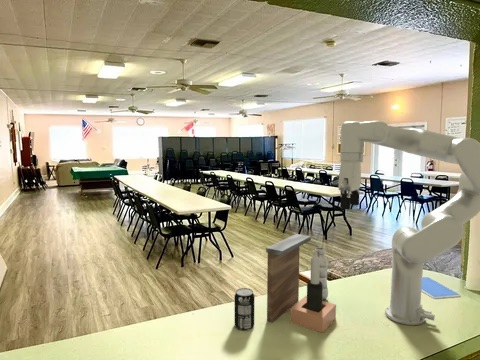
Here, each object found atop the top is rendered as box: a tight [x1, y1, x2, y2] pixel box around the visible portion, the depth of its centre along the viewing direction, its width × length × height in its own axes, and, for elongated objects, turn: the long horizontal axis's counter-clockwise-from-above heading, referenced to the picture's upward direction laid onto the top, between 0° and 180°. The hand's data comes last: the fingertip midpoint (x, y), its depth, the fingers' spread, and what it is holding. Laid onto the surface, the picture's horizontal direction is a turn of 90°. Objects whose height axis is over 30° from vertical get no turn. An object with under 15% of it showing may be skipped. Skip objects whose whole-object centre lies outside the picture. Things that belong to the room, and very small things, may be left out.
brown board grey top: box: [265, 233, 312, 324], centre depth 125 cm, size 6×22×26 cm, turn 145°
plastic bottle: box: [315, 246, 330, 301], centre depth 137 cm, size 6×7×20 cm
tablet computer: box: [421, 276, 461, 300], centre depth 148 cm, size 19×13×1 cm, turn 10°
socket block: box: [290, 295, 337, 334], centre depth 121 cm, size 12×12×5 cm
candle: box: [306, 248, 323, 313], centre depth 120 cm, size 5×5×25 cm
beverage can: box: [234, 287, 255, 331], centre depth 117 cm, size 7×7×12 cm
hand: (349, 206), depth 123 cm, fingers open, 9 cm apart
